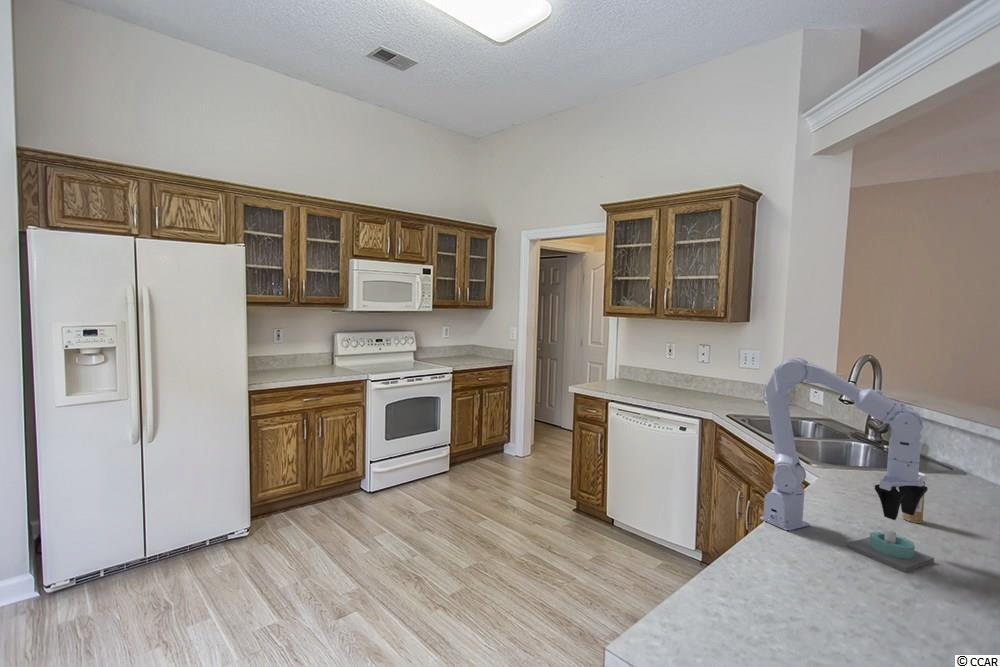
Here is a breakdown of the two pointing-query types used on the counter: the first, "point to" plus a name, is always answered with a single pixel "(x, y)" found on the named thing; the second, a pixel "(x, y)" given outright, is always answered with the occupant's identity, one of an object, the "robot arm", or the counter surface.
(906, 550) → the ring
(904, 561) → the pin board
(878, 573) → the counter surface
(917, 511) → the sprinkles bottle
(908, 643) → the counter surface
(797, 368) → the robot arm
